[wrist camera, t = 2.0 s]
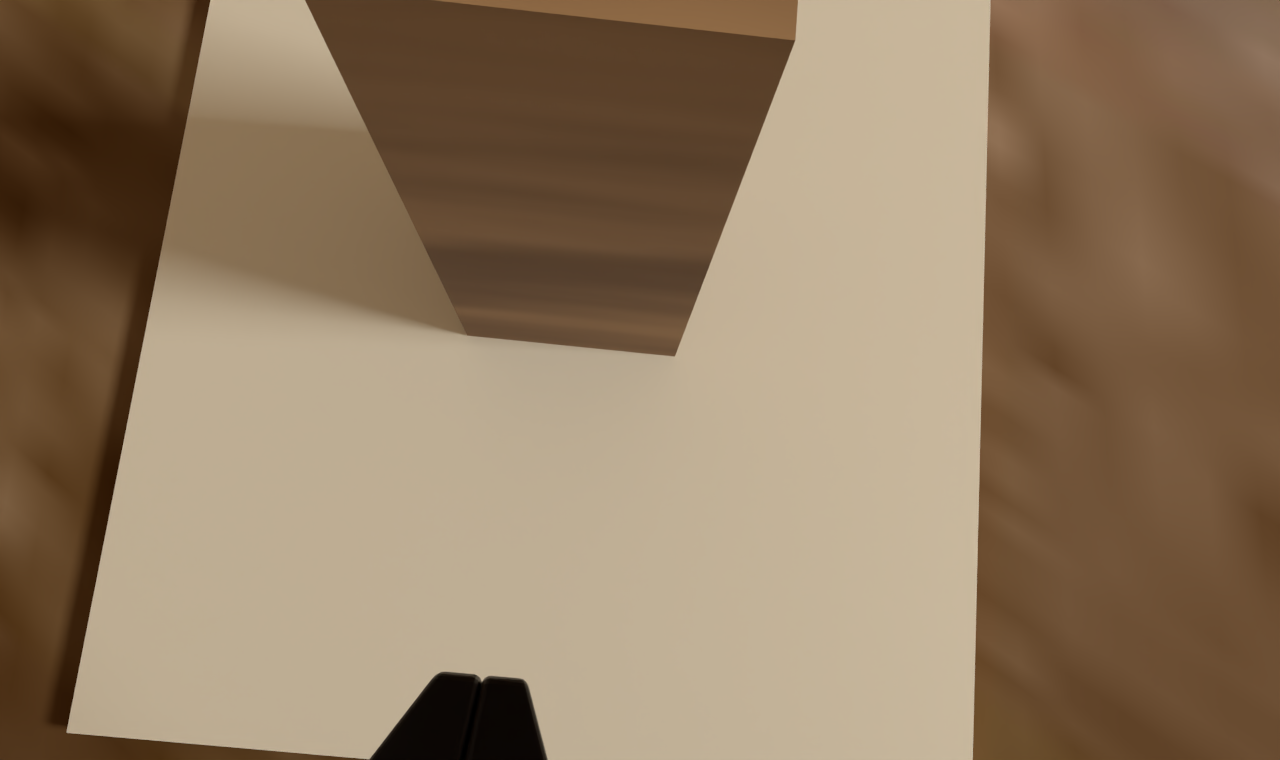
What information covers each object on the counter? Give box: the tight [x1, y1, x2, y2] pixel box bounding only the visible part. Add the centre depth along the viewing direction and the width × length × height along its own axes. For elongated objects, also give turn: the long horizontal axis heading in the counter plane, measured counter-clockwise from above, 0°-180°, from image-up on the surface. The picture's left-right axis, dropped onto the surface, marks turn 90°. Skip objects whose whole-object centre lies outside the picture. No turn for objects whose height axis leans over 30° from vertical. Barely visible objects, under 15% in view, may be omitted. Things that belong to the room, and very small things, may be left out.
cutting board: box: [66, 0, 990, 760], centre depth 23 cm, size 22×18×1 cm
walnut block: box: [305, 0, 798, 356], centre depth 16 cm, size 4×4×13 cm
